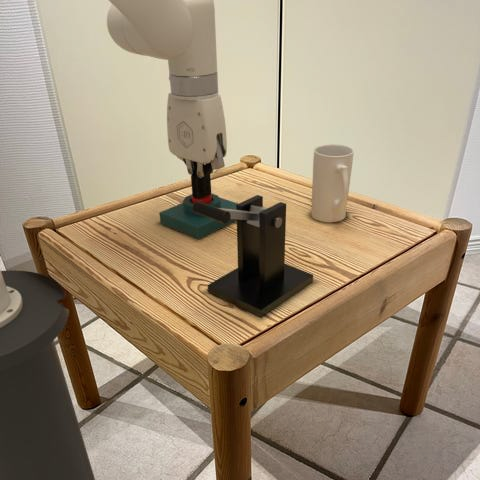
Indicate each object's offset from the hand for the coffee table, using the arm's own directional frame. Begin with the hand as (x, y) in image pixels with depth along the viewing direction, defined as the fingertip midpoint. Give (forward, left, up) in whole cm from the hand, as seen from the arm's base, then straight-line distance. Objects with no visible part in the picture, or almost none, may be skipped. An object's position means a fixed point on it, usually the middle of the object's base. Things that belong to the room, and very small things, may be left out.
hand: (202, 195), depth 91 cm
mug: (+15, -18, -5) cm, 24 cm away
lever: (-16, -23, +7) cm, 29 cm away
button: (0, 0, -2) cm, 2 cm away
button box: (0, 0, -5) cm, 5 cm away
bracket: (-11, -23, -5) cm, 26 cm away
